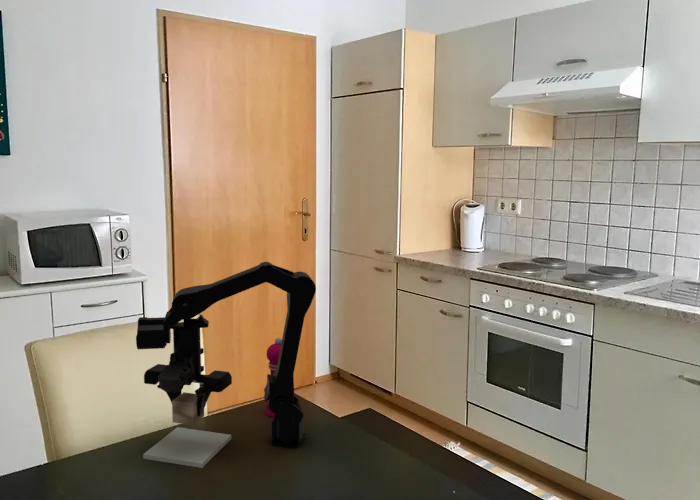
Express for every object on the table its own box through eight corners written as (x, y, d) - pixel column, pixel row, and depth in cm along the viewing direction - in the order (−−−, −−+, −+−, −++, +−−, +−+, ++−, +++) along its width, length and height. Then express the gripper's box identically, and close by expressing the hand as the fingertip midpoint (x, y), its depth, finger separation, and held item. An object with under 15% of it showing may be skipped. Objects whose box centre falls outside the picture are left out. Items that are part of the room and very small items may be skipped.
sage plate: (231, 438, 139) (231, 434, 139) (202, 467, 126) (201, 463, 126) (177, 431, 143) (177, 427, 143) (143, 458, 129) (143, 454, 129)
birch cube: (204, 415, 135) (203, 394, 134) (193, 425, 130) (192, 403, 129) (184, 413, 136) (183, 392, 136) (172, 422, 131) (172, 400, 131)
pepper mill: (287, 420, 150) (287, 343, 147) (260, 417, 152) (259, 340, 149) (295, 408, 157) (296, 334, 154) (269, 406, 159) (269, 332, 156)
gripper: (127, 353, 125) (130, 424, 128) (208, 362, 121) (209, 435, 123) (157, 339, 136) (159, 404, 138) (232, 346, 132) (233, 414, 134)
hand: (188, 414), depth 133 cm, fingers closed on birch cube, 5 cm apart
